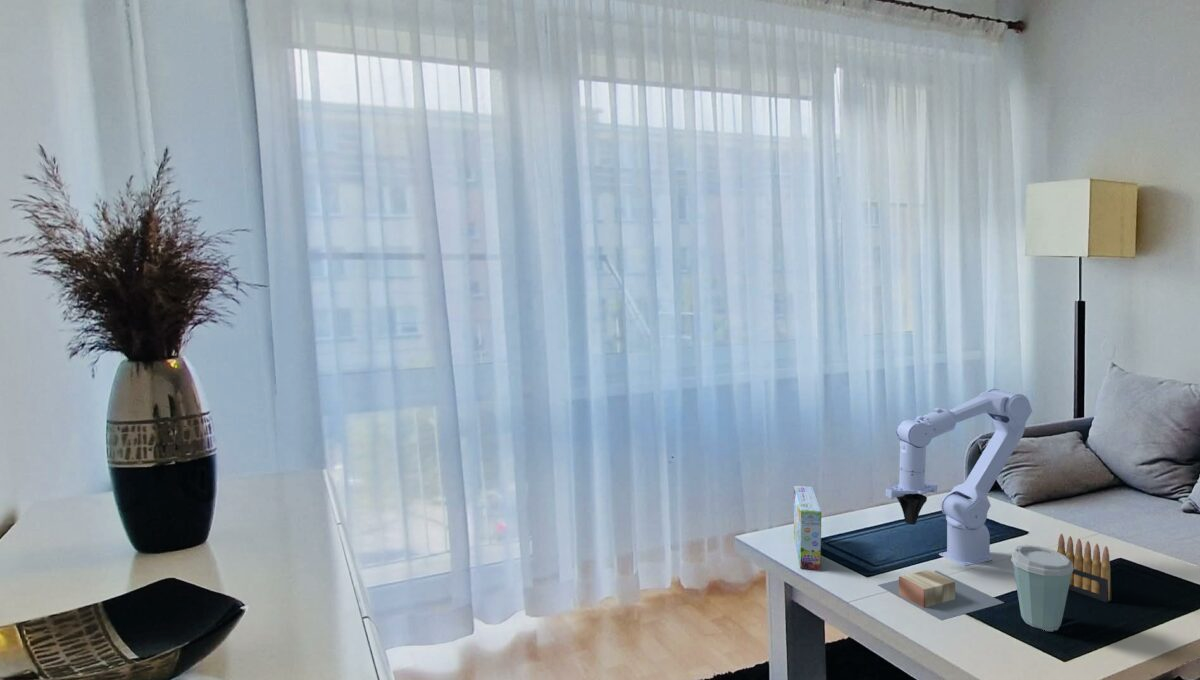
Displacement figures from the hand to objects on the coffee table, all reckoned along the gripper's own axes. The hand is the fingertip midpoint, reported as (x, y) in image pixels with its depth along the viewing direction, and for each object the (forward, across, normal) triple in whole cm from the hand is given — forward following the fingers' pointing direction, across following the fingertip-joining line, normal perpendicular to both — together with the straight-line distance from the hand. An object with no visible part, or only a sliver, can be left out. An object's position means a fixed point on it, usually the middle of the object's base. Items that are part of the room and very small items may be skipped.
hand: (910, 523), depth 167 cm
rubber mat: (+10, -7, -15) cm, 20 cm away
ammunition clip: (+10, +22, -27) cm, 36 cm away
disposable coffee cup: (+10, +1, -33) cm, 35 cm away
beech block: (+8, -6, -15) cm, 18 cm away
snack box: (+12, -18, +17) cm, 27 cm away
